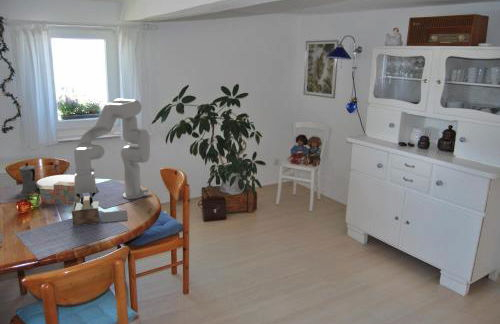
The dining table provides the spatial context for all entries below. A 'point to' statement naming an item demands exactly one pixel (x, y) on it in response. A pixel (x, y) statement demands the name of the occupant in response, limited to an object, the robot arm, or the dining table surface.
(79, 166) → the robot arm
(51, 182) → the plate
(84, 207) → the lid
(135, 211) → the dining table surface
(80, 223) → the box
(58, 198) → the stack of blocks
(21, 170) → the coffeepot
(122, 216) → the grey flat slab
